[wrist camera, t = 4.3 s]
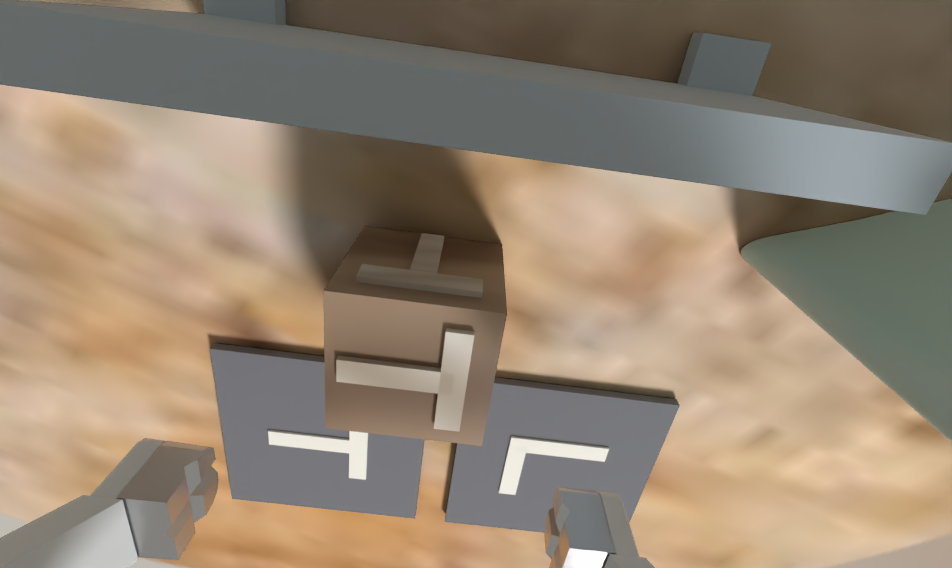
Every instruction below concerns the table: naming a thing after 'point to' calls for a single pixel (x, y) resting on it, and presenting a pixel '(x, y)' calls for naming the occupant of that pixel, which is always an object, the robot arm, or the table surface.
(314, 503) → the pad
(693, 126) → the screen
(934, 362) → the planter
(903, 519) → the table surface
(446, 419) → the cube
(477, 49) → the table surface
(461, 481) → the pad
